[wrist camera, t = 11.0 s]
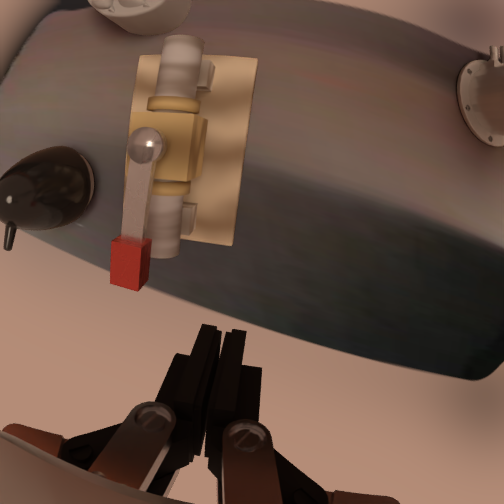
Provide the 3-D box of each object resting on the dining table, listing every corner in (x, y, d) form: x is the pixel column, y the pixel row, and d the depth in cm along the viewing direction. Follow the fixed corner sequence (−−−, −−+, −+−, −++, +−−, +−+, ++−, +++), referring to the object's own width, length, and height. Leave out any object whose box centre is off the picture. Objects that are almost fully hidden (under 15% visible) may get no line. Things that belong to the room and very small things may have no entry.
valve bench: (144, 58, 30) (102, 32, 20) (258, 62, 30) (252, 28, 20) (127, 227, 38) (83, 255, 27) (233, 242, 38) (219, 279, 27)
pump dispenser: (48, 213, 38) (-25, 246, 23) (52, 143, 34) (-28, 152, 20) (102, 224, 38) (31, 265, 23) (109, 147, 34) (29, 154, 20)
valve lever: (137, 125, 23) (124, 124, 20) (170, 130, 23) (159, 128, 20) (120, 272, 27) (109, 283, 25) (149, 280, 27) (139, 291, 25)
